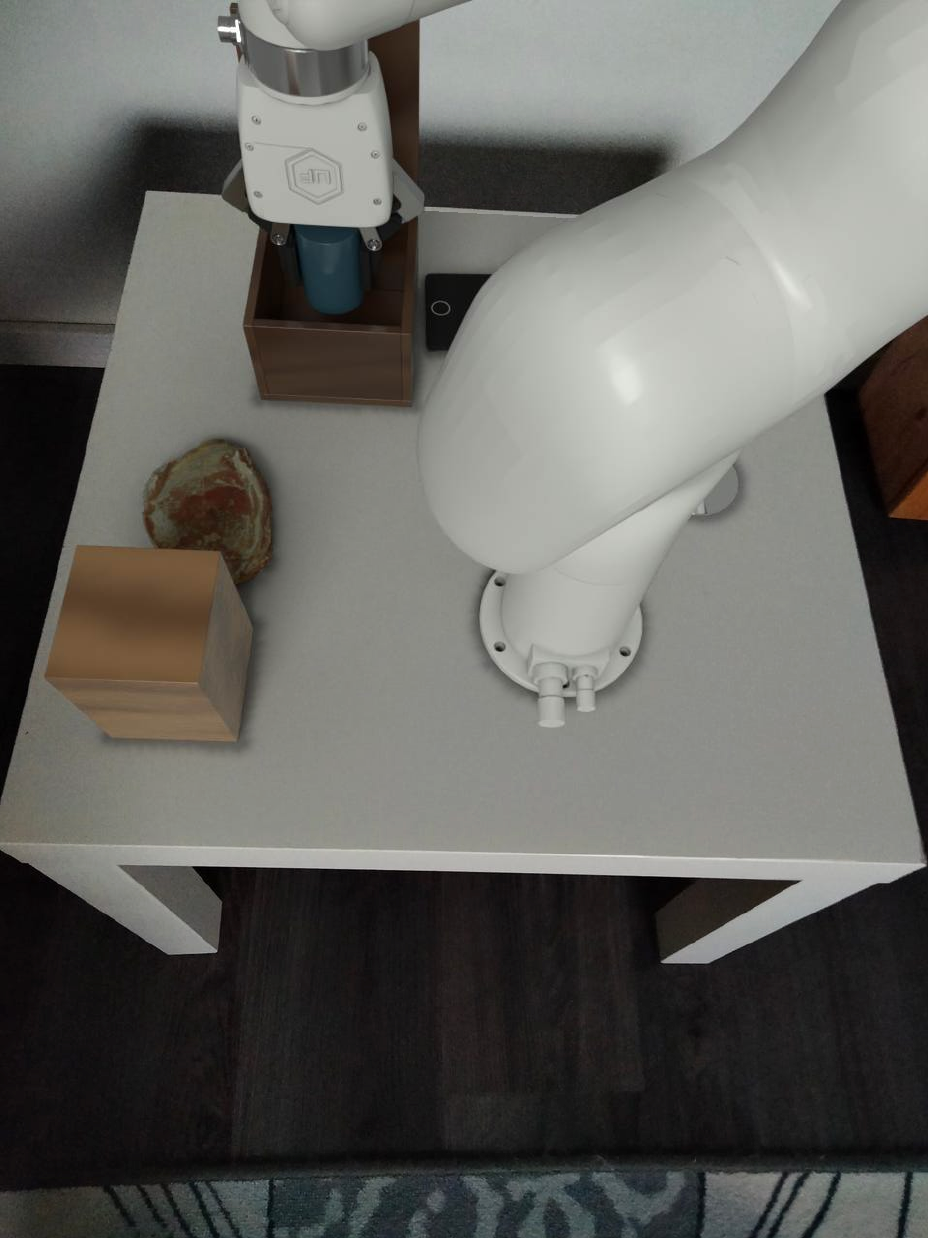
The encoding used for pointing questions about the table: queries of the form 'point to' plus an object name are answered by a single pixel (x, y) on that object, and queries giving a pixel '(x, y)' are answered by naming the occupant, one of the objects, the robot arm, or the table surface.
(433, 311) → the cell phone
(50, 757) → the table surface
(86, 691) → the stand
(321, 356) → the wooden box
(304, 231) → the blue glossy cylinder
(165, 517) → the stone
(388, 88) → the lid
